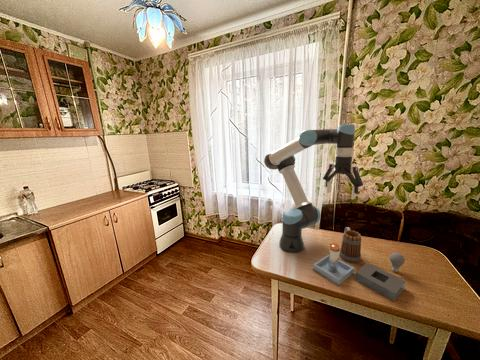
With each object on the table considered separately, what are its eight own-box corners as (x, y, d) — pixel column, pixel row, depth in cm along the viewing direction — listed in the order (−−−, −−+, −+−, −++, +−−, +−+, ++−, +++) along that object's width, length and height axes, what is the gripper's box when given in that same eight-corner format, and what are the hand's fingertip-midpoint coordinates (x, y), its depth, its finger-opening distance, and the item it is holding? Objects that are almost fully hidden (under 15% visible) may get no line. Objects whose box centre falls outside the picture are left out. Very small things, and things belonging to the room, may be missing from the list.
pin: (331, 265, 104) (333, 242, 101) (339, 270, 101) (341, 246, 98) (326, 269, 102) (328, 245, 99) (334, 274, 99) (336, 249, 95)
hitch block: (354, 279, 96) (355, 272, 95) (366, 269, 102) (367, 262, 101) (394, 301, 83) (395, 293, 82) (404, 288, 89) (406, 281, 88)
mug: (363, 264, 106) (366, 239, 102) (342, 262, 108) (344, 237, 105) (353, 247, 121) (356, 225, 117) (335, 246, 123) (337, 224, 119)
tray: (312, 269, 104) (312, 264, 103) (328, 259, 111) (328, 254, 110) (338, 285, 92) (338, 280, 92) (353, 273, 100) (354, 268, 99)
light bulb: (400, 268, 102) (403, 251, 99) (404, 276, 96) (407, 258, 94) (386, 266, 104) (388, 249, 102) (389, 273, 99) (392, 255, 96)
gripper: (317, 154, 108) (315, 191, 113) (366, 158, 88) (361, 203, 93) (326, 153, 112) (323, 189, 117) (374, 157, 92) (369, 200, 97)
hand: (340, 195), depth 105 cm, fingers open, 13 cm apart
